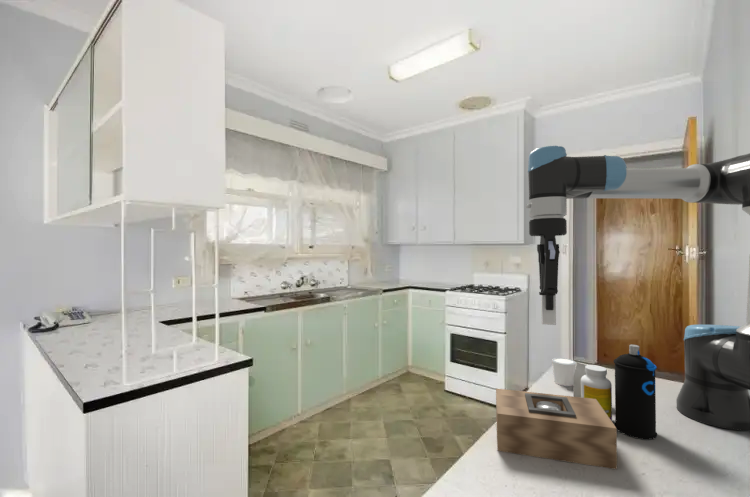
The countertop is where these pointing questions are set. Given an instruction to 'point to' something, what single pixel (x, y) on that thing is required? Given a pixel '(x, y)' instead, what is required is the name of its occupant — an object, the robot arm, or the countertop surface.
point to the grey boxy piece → (578, 379)
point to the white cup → (563, 371)
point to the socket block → (555, 428)
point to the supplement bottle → (597, 387)
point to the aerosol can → (635, 395)
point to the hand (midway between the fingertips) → (548, 323)
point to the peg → (548, 405)
